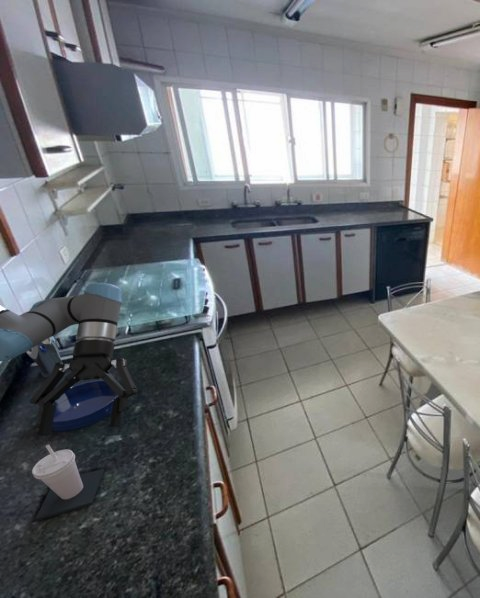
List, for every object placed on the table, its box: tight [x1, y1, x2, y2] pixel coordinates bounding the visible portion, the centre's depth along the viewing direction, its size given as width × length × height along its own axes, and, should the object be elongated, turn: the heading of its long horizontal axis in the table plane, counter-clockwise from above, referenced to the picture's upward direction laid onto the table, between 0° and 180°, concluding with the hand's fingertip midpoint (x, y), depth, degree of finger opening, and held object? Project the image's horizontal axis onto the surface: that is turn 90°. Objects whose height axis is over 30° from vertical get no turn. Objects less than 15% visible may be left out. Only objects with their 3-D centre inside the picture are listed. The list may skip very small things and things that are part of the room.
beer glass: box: [25, 336, 64, 379], centre depth 105 cm, size 7×7×15 cm
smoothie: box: [31, 444, 83, 499], centre depth 70 cm, size 6×6×14 cm
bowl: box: [51, 379, 119, 432], centre depth 95 cm, size 17×17×4 cm
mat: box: [35, 468, 105, 522], centre depth 73 cm, size 9×9×1 cm
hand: (80, 430), depth 77 cm, fingers open, 13 cm apart
